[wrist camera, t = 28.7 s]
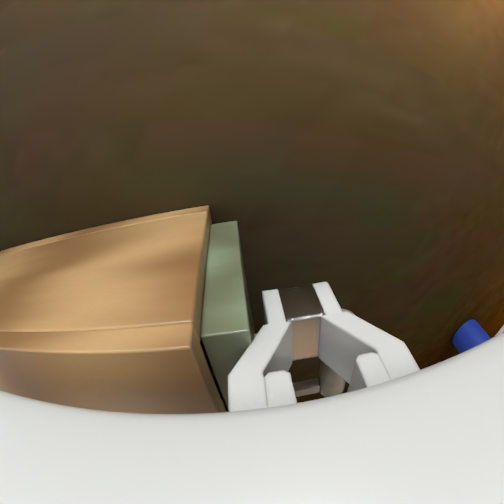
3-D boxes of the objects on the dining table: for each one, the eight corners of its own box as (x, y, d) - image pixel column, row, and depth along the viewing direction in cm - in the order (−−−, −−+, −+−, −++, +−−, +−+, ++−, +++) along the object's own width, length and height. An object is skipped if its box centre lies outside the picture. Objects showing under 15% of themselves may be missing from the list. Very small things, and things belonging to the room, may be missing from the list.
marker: (469, 338, 21) (532, 437, 9) (446, 348, 21) (510, 458, 9) (480, 313, 20) (554, 417, 7) (458, 323, 20) (534, 439, 7)
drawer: (328, 207, 13) (407, 298, 7) (322, 366, 18) (349, 451, 12) (6, 263, 12) (-55, 335, 6) (81, 384, 18) (60, 454, 12)
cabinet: (208, 204, 13) (190, 347, 5) (244, 374, 19) (256, 485, 12) (-9, 253, 13) (-80, 335, 5) (68, 379, 19) (41, 461, 11)
